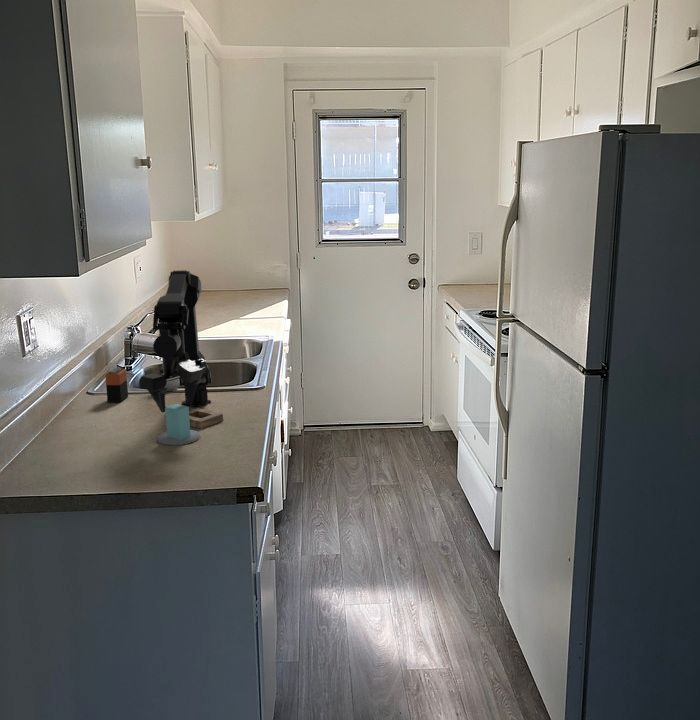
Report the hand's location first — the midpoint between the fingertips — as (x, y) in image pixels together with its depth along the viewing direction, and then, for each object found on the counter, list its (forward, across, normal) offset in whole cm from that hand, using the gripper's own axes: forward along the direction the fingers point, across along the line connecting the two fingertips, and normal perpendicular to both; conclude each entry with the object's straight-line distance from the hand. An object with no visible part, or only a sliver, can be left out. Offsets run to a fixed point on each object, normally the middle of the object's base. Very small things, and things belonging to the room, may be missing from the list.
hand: (176, 407), depth 196 cm
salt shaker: (+8, +33, +40) cm, 53 cm away
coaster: (+8, 0, 0) cm, 8 cm away
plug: (+8, 0, 0) cm, 8 cm away
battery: (+8, +14, +43) cm, 46 cm away
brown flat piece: (+8, +13, +6) cm, 17 cm away
